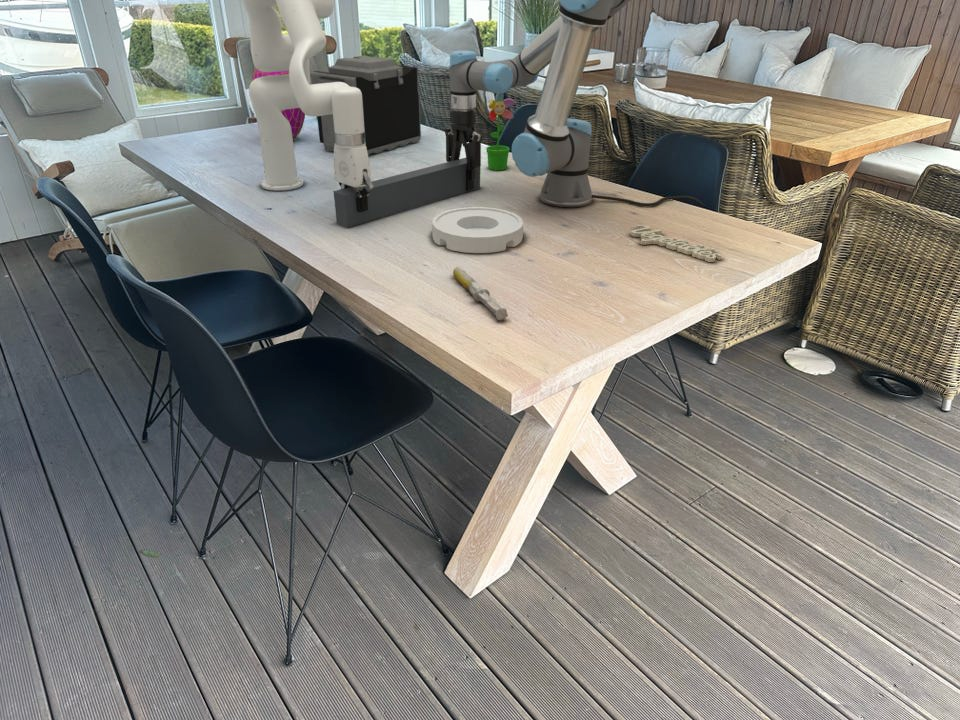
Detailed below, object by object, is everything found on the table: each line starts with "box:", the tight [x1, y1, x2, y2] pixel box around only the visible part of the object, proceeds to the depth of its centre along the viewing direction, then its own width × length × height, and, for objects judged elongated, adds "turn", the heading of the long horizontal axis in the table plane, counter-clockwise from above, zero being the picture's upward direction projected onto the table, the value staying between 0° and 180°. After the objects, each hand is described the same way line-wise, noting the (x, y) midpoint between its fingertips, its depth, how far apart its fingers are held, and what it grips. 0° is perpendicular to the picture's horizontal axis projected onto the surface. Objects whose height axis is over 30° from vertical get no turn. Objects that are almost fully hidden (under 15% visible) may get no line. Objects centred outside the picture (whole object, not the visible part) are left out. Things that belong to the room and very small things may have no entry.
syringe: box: [452, 266, 509, 321], centre depth 145 cm, size 25×4×3 cm, turn 21°
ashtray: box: [431, 206, 524, 254], centre depth 175 cm, size 23×23×4 cm
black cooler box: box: [310, 55, 422, 156], centre depth 250 cm, size 37×22×30 cm, turn 144°
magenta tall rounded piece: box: [251, 66, 306, 139], centre depth 257 cm, size 19×19×30 cm
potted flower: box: [486, 93, 517, 171], centre depth 227 cm, size 9×8×25 cm
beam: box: [333, 157, 481, 229], centre depth 196 cm, size 51×5×9 cm, turn 137°
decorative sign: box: [630, 224, 722, 263], centre depth 172 cm, size 26×1×10 cm
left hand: (356, 208), depth 184 cm, fingers closed on beam, 5 cm apart
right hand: (463, 188), depth 211 cm, fingers closed on beam, 5 cm apart
